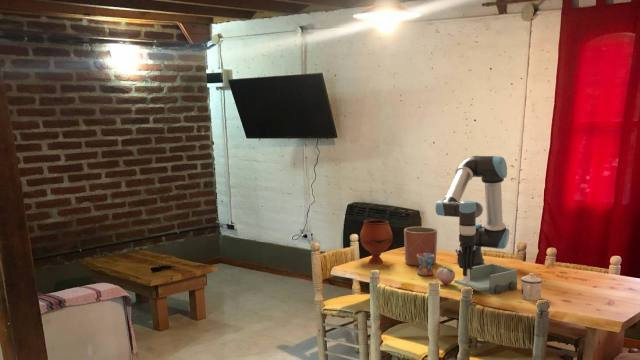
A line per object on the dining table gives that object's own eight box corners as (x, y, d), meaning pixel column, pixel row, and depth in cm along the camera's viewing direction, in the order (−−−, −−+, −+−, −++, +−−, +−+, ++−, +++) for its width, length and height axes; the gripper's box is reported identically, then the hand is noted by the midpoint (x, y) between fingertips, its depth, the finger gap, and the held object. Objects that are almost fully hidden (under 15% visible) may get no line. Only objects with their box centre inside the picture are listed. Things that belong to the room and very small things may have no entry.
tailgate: (466, 279, 260) (454, 280, 256) (489, 286, 247) (477, 287, 243) (465, 282, 260) (453, 283, 256) (488, 290, 247) (476, 291, 243)
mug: (427, 277, 276) (427, 258, 275) (413, 274, 283) (413, 255, 282) (440, 273, 284) (440, 254, 283) (426, 270, 291) (426, 251, 290)
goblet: (394, 266, 299) (394, 223, 296) (361, 267, 299) (360, 224, 296) (390, 258, 318) (390, 218, 315) (359, 258, 318) (358, 218, 316)
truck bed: (489, 279, 271) (489, 262, 271) (519, 288, 255) (520, 270, 254) (463, 284, 262) (464, 267, 262) (493, 295, 246) (494, 276, 245)
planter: (430, 269, 293) (430, 234, 291) (398, 264, 303) (398, 230, 301) (441, 261, 309) (442, 228, 307) (411, 257, 319) (411, 225, 317)
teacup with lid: (522, 293, 248) (523, 269, 246) (543, 296, 243) (543, 272, 242) (517, 300, 238) (517, 275, 236) (538, 304, 233) (539, 278, 232)
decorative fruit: (458, 284, 263) (458, 265, 262) (450, 288, 258) (450, 268, 257) (441, 280, 270) (442, 262, 269) (433, 284, 264) (433, 265, 263)
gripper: (471, 230, 254) (470, 278, 256) (451, 234, 247) (450, 282, 250) (483, 233, 247) (482, 281, 250) (463, 236, 241) (462, 286, 243)
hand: (466, 282), depth 250 cm, fingers closed
